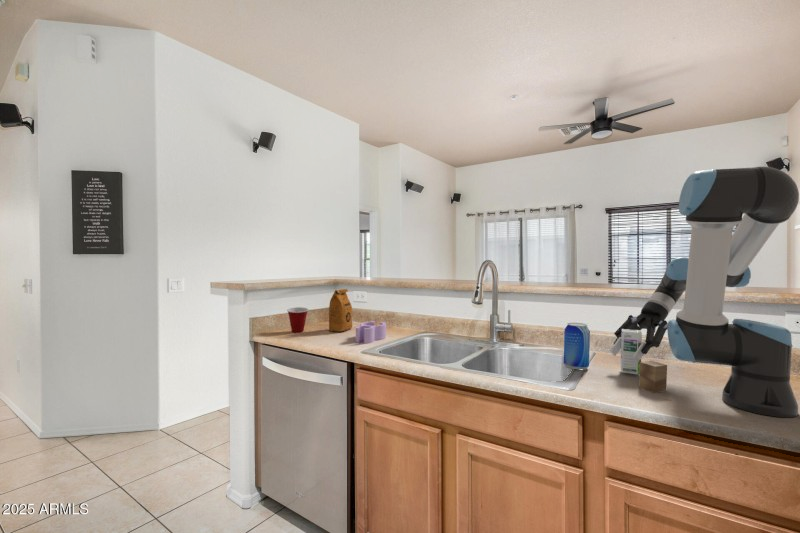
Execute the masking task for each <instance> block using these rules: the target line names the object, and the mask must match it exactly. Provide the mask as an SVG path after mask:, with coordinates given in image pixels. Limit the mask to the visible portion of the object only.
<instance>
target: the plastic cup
mask: <svg viewBox="0 0 800 533" xmlns="http://www.w3.org/2000/svg"><path fill="white" fill-rule="evenodd" d="M286 311H287V314H288V317H289V325H290V328H291V329H290V330H291V333H294V334H295V333H296V334H298V333H304V329H305V325H306V320H307V315H308V311H309V308H307V307H301V306H300V307H297V306H296V307H290V308H288V309H286Z"/></svg>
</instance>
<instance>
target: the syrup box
mask: <svg viewBox="0 0 800 533" xmlns="http://www.w3.org/2000/svg"><path fill="white" fill-rule="evenodd" d="M642 337H643V333H642V330H629V329H622V330H621V349H620V371H621V373H624V374H625V373H626V374H633V375H639V374H640V362H642V358H641V359H640V361H639V362H636V361H635V360H634V358H633V357H632V356H633V355H634V354H635V352H636V351H637V349H638V348H639V346H640V345H641V343H642V342H643V340H642V339H643V338H642Z"/></svg>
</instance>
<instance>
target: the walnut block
mask: <svg viewBox="0 0 800 533" xmlns="http://www.w3.org/2000/svg"><path fill="white" fill-rule="evenodd" d="M667 377H668V364H664V363H661V362H656V361H654V360H646V361H641V362H640V374H639V379H638V381H639V382H638V383H639V384H638V388H640V389H642V390H645V391H649V392H651V393H654V394H655V393H663V392H667V384H668V383H667V382H668V378H667Z"/></svg>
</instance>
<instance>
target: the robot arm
mask: <svg viewBox="0 0 800 533" xmlns="http://www.w3.org/2000/svg"><path fill="white" fill-rule="evenodd" d="M798 188H799V187H798V186H797V183H796V181H794V179H793V178H792V177H791V176H790V175H789V174H788V173H786V172H785V171H783V170H781V169H778V168H775V167H772V166H754V167H740V168H739V167H738V168H737V167H736V168H719V169H718V168H717V169H715V168H712V169H705V170H698V171H695V172H692V173H690V175H689V176H688V177H687V178H686V180H685V181H684V183H683V186H682V189H681V190H680V194H679V200H678V205H679V206H678V212H679V214H681V215H682V216H685V222H686V223H687V224H688V225H689V226H690V227H691V233H690V240H689V241H690V242H689V253H688V258H687V257H684V256H683V257H680V256H679V257H676V258H674V259H672V260H671V261H670V262H669V263H668V265H667V266H666V268H665V272H664V274H663V277H662V278H661V280H660V282H659V284H658V286H657V288H656V289H655V291H654V292H653V293H652V294H651V296H650V297H649V299H648V300H647V301H646V303H645V304H644V305H643V307H642V308H641V310H640V314H639V315H637V316H633V315H632V314H629V315H628V317H627V319H626V320H625V321H624V322H623V324H621V325H620V326H619V328H617V330H616V331H615V332H613V334H614V336H615V337H616V339H615V340H614V341H613V346H612V347H611V348H610V350H609V351H610V354H612V356H614V357H616V356H617V354H618V353H619V352H620V351H621V330H622V329H629V330H640V331H642V330H643V329H645V330H646V334H645V340H644V341H642V343H641V345H640V346H639V348H638V349H637V351H636V352H635V354H634V355H633V356H632V357H633V358H634V360H635V361H636V362H639V361H640V359H641V360H642V358H643V356H645V355H646V354H648V353H649V351H650V350H651V348H653V347H655V348H659V347H660V345H661V343H662V341H663V338H664V337H665V333H666V332H667V339H668V344H669V347H670V348H669V349H670V350H671V353H672V354H673V356H674V357H675V358H676V359H677V360H679V361H683V362H690V363H694V364H696V363H698V364H700V363H701V364H708V365H709V364H710V365H720V366H728V367H729V366H731V369H730V370H731V372H730V376H729V377H728V380H727V381H726V384H725V385H724V387H723V389H722V394H721V397H722V398H721V399H722V401H723V402H724V403H726V404H727V405H729V406H733V407H735V408H737V409H740V410H743V411H746V412H750V413H754V414H758V415H764V416H769V417H770V416H771V417H776V418H777V417H778V418H794V417H797V416H798V415H799V404H798V401H797V399H796V396H795V394H794V391H793V388H792V385H791V363H792V348H793V343H792V341H793V340H792V332H791V331H790V330H789V329H787V328H786V327H783V326H780V325H777V324H772V323H766V322H761V321H757V320H751V319H744V318H734V319H733V320H732V322H731V323H729V322H730V321H729V318H728V317H727V316H725V314H723V311H724V303H725V294H726V288H740V287H741V288H744V287H746V286H748V284H749V283H750V279H751V277H752V276H751V274H752V273H751V268H750V267H749V266H750V265H751V264H752V262H753V261H754V259H755V258H756V256H757V255H758V254H759V253H760V251H761V250H762V248H763V246H765V244H766V243H767V241H768V240H769V239H770V238H771V236H772V234H773V233H774V232H775V230H776V229H777V227H778V226H779V224H782V223H784V222H787V221H788V220H789V219H790V218H791V217H792V215H794V212H795V211H796V209H797V207H798V204H799V200H800V191H799V189H798ZM743 214H744V215H743ZM735 226H736V228H735ZM734 228H735V229H734ZM733 230H734V231H733ZM683 294H684V303H683V308H682V309H681V310H679V311H678V312H677V311H676V318H675V319H670V320H668V321H667V320H666V318H667V317H668V316H669V314H670V312H671V311H672V310H673V308H675V305H676V304H677V302H678V301H679V299H681V296H682V295H683ZM656 328H657V329H656Z"/></svg>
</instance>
